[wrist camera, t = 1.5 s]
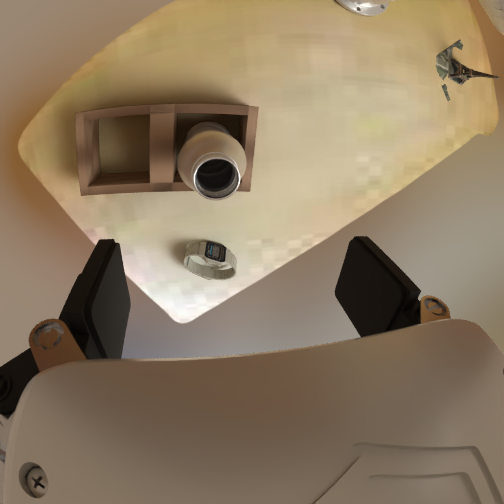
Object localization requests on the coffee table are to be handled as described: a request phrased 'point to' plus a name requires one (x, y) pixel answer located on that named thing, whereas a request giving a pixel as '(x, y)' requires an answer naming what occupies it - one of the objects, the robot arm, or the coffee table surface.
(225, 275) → the wristwatch
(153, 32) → the coffee table surface
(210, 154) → the plastic bottle
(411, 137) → the coffee table surface
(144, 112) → the bottle rack
